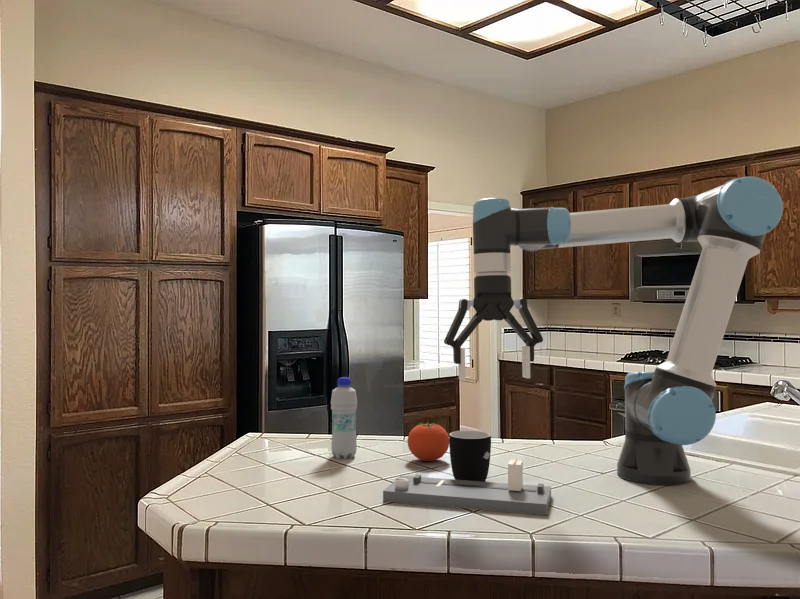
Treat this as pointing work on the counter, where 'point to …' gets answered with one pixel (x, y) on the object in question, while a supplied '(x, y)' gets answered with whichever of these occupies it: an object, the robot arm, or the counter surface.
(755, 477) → the counter surface
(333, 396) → the bottle
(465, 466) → the mug
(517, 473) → the fader tab
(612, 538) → the counter surface
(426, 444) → the tomato
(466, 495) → the console
